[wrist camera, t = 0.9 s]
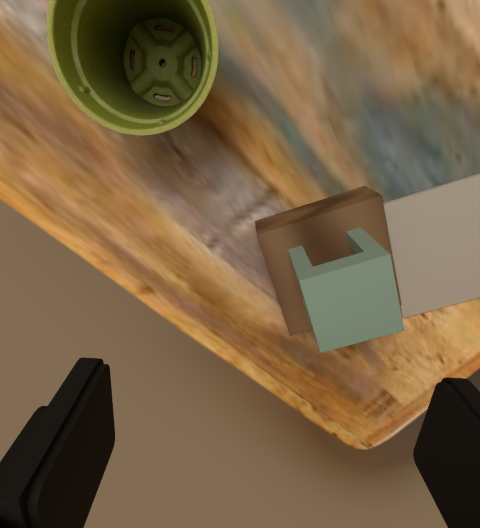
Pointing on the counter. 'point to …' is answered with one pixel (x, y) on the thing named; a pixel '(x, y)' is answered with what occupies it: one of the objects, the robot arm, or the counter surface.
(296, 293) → the brown square block
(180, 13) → the plant pot
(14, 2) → the counter surface
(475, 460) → the robot arm
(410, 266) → the mat
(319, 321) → the green notched block
